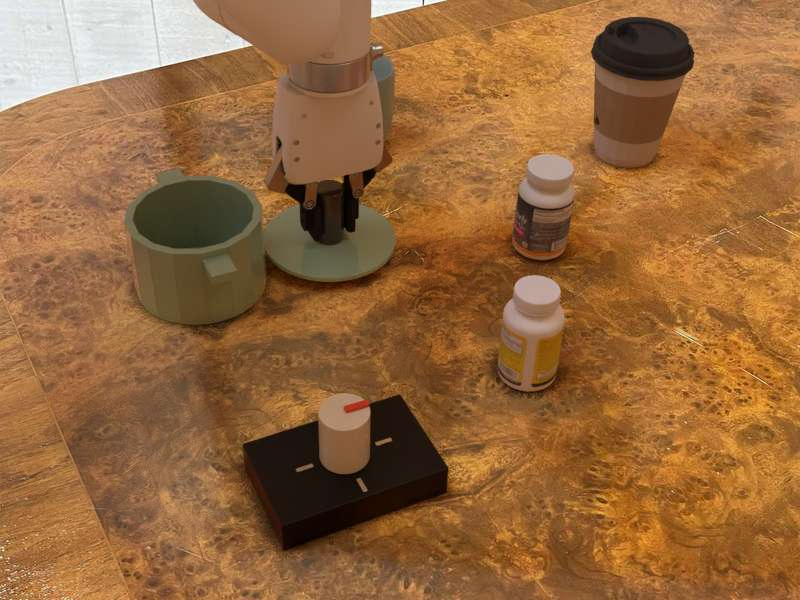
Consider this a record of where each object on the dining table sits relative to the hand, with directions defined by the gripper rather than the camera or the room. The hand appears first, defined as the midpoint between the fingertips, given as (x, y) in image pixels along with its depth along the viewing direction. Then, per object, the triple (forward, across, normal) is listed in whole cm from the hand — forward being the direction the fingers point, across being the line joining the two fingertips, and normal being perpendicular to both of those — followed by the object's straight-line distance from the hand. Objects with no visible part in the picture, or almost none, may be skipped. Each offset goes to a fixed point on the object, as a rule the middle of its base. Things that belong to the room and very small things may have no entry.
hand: (329, 227), depth 108 cm
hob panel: (+3, +11, +29) cm, 31 cm away
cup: (+3, -11, -18) cm, 22 cm away
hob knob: (0, +11, +29) cm, 31 cm away
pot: (+3, +14, 0) cm, 14 cm away
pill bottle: (+3, -20, +8) cm, 22 cm away
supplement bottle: (+3, -9, +24) cm, 26 cm away
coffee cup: (+3, -39, -4) cm, 40 cm away
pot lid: (+2, 0, 0) cm, 2 cm away
